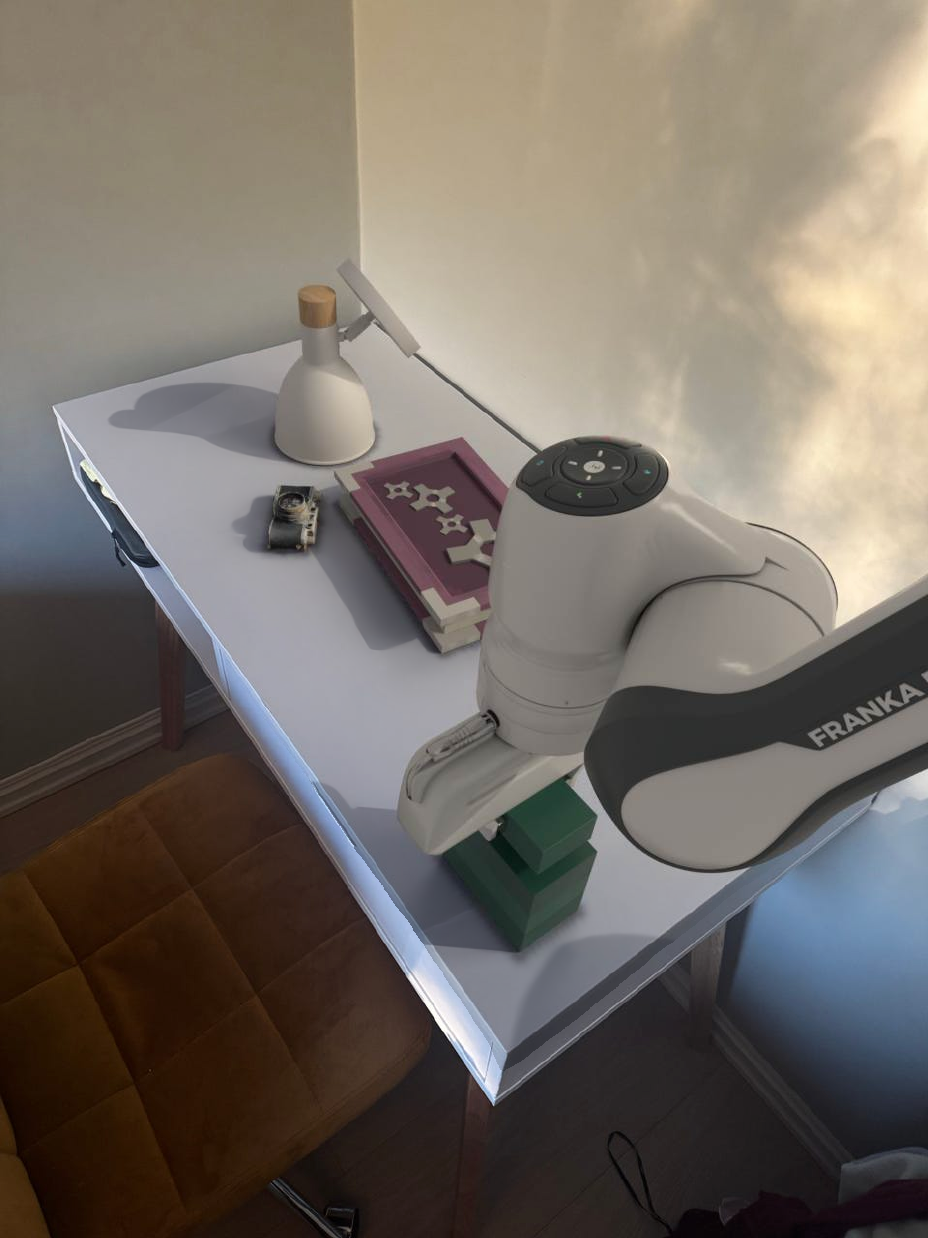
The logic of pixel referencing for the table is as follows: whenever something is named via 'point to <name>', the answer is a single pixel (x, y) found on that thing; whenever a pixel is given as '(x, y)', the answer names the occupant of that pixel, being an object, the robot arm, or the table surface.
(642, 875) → the table surface
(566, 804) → the dark green cuboid
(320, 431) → the light fixture
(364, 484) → the book
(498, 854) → the green pile
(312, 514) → the camera
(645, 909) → the table surface
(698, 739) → the robot arm
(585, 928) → the table surface
